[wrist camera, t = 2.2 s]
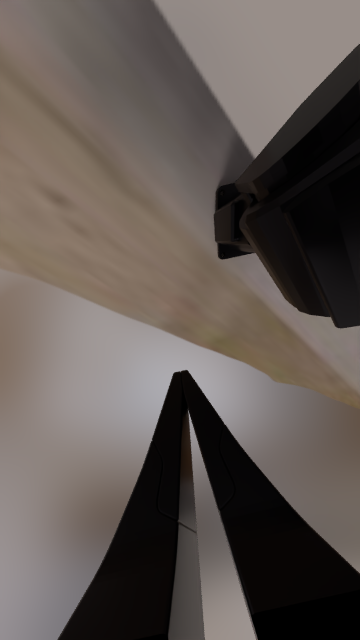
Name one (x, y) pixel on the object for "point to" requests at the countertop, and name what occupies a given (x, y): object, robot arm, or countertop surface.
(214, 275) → the countertop surface
